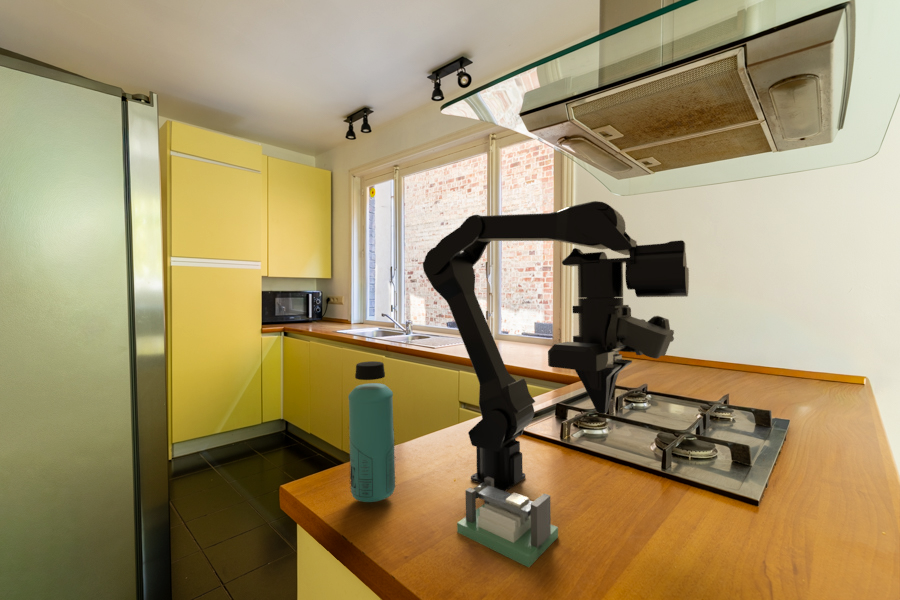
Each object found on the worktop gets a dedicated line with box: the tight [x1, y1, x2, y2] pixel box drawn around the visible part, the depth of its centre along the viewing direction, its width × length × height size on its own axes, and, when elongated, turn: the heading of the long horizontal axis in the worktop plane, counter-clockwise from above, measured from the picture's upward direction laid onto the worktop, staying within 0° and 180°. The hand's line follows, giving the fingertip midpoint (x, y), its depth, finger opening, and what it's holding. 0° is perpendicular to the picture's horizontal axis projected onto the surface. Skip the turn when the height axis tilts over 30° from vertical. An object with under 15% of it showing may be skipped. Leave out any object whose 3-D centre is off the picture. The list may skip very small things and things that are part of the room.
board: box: [456, 477, 559, 568], centre depth 49 cm, size 10×7×6 cm
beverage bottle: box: [347, 361, 397, 503], centre depth 57 cm, size 6×7×20 cm
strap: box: [473, 482, 533, 517], centre depth 49 cm, size 8×2×1 cm, turn 49°
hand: (602, 412), depth 54 cm, fingers closed
